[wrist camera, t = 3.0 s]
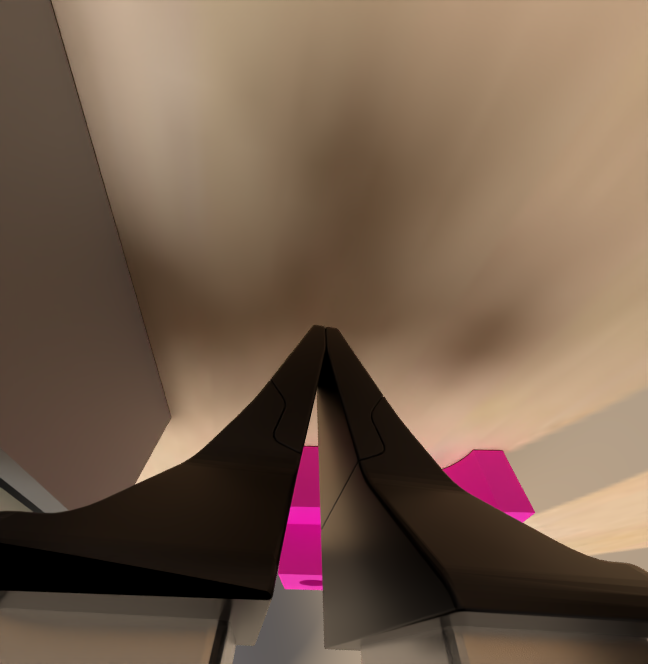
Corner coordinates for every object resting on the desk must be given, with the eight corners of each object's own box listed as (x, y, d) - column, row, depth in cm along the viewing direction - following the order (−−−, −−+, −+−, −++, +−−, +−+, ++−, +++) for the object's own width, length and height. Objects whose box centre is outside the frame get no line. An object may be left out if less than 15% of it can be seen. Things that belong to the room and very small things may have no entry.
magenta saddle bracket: (284, 588, 18) (272, 560, 14) (294, 491, 23) (287, 446, 19) (503, 595, 18) (564, 568, 14) (467, 495, 23) (502, 450, 18)
